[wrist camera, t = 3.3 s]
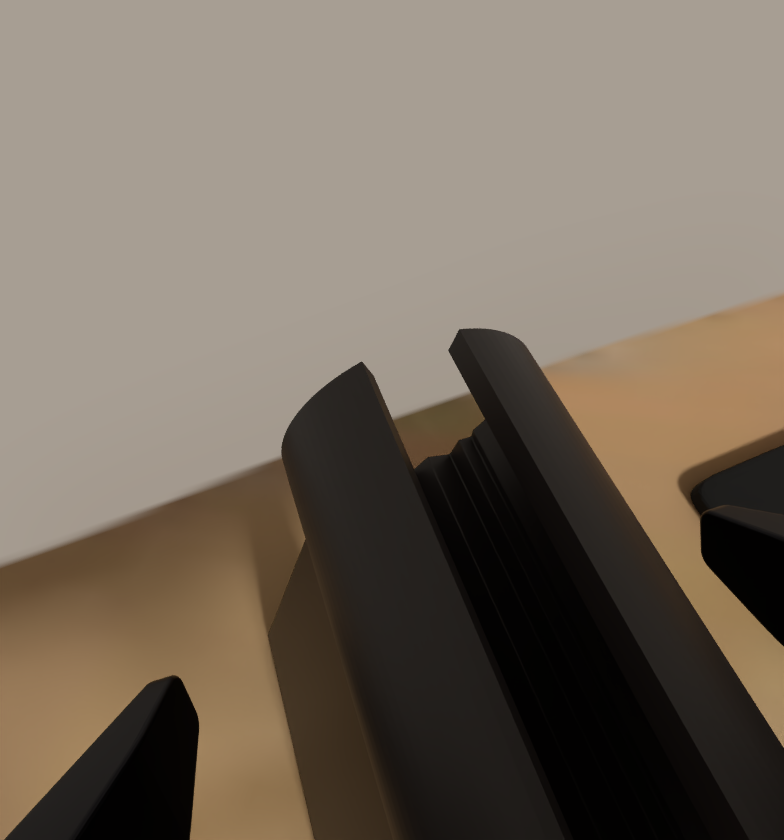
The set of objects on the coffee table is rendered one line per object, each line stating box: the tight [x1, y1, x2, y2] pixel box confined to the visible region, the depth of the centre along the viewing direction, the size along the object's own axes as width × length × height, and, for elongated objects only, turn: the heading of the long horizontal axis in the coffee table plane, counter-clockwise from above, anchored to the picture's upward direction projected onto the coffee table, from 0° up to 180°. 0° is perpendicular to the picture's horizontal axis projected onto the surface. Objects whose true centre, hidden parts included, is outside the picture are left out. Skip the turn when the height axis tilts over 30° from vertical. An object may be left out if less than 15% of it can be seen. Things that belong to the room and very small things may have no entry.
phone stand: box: [268, 329, 784, 840], centre depth 8 cm, size 9×6×12 cm, turn 110°
